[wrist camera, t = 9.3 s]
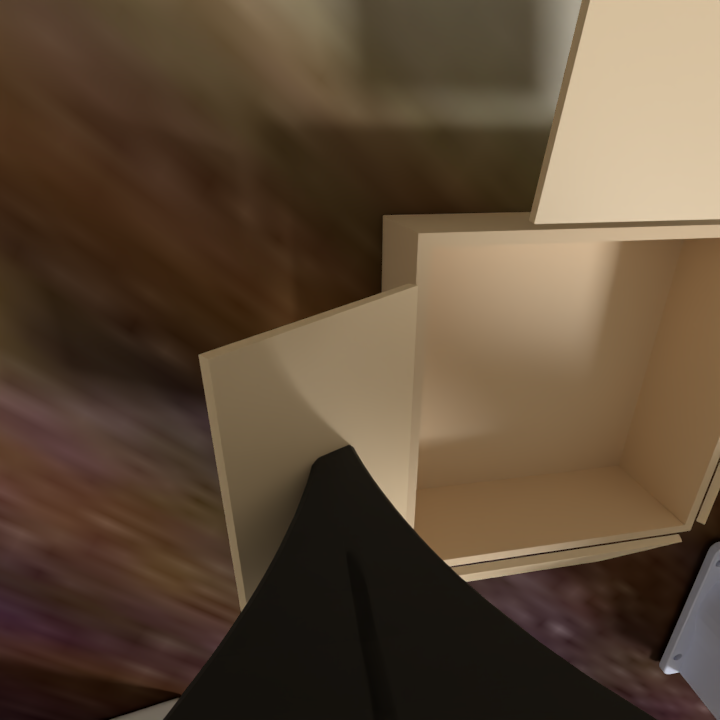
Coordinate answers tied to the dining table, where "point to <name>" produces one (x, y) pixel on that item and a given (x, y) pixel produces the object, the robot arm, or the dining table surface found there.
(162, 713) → the jar
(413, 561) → the robot arm
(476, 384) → the carton
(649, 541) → the flap
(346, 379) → the flap
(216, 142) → the dining table surface
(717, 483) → the flap
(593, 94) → the flap
